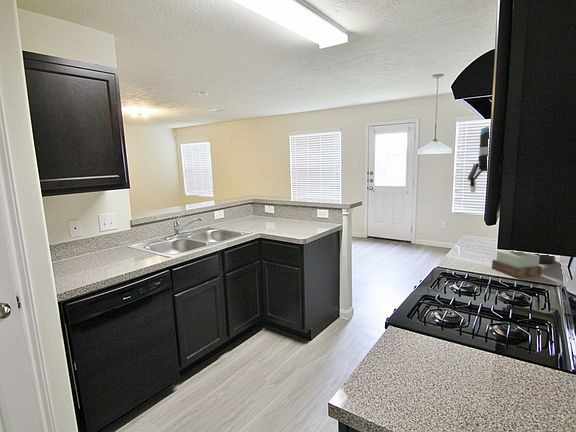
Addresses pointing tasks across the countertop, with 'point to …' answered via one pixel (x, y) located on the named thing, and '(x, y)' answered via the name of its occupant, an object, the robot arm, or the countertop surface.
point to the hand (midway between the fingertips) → (483, 192)
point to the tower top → (518, 259)
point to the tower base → (516, 270)
